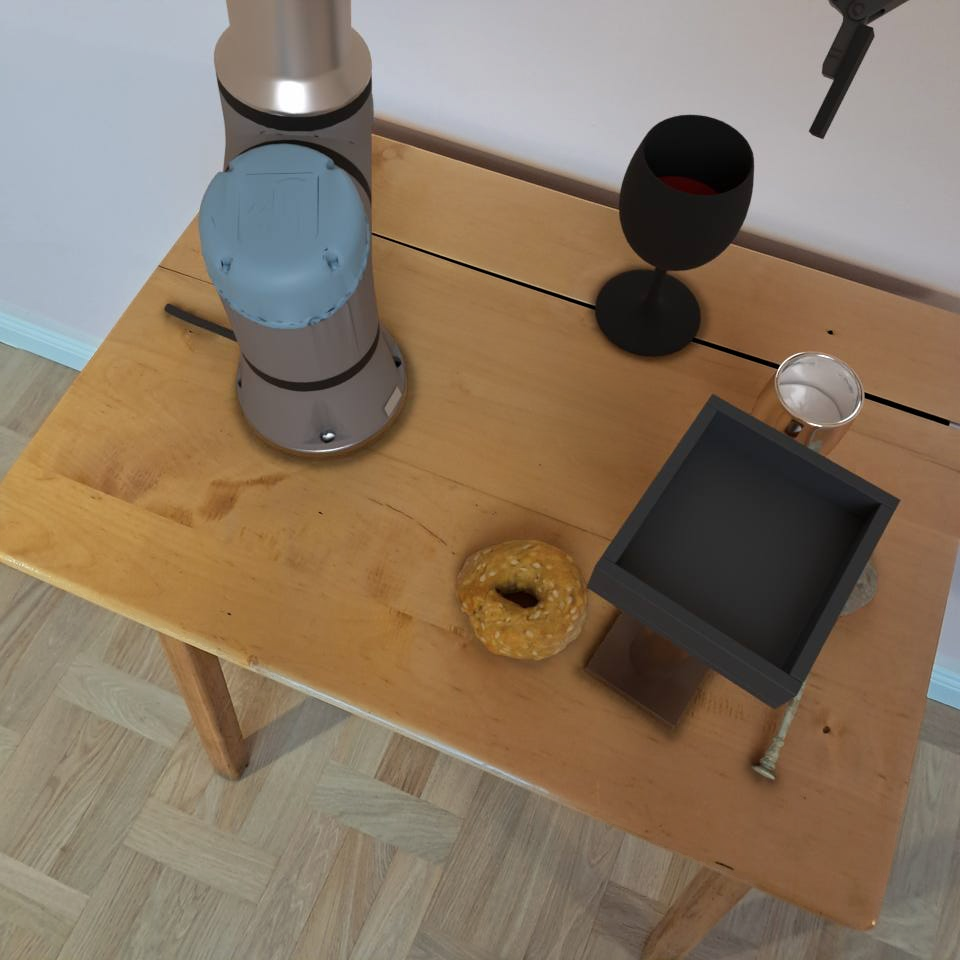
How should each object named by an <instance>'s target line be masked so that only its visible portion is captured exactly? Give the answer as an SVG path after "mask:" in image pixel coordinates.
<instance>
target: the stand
mask: <svg viewBox="0 0 960 960" xmlns="http://www.w3.org/2000/svg"><path fill="white" fill-rule="evenodd" d="M710 669H711V668H710V667H708V666H706V665H705V664H703V663H702V662H700V661H699V660H697V659H696V658H694V657H693V656H691V655H690V654H688V653H686V652H685V651H683V650H682V649H680V648H679V647H677V646H676V645H674V644H673V643H671V642H669V641H668V640H666V639H665V638H663V637H662V636H660V635H659V634H657V633H656V632H654V631H653V630H651V629H649V628H648V627H646V626H645V625H643V624H642V623H640V622H639V621H637V620H636V619H634V618H633V617H631V616H629V615H628V614H626V613H625V612H623V611H622V610H621V612H620V613H619V615H618V617H617V619H616V620H615V621H614V623H613V624H612V626H611V627H610V629H609V631H608V632H607V633H606V635H605V637H604V639H603V640H602V642H601V643H600V644H599V646H598V647H597V649H596V650H595V652H594V654H593V655H592V657H591V658H590V660H589V661H588V662H587V664H586V666H585V668H584V669H583V672H584V673H585V674H587V675H588V676H590V677H591V678H593V679H594V680H596V681H598V682H599V683H600V684H601V685H603V686H605V687H606V688H607V689H609V690H611V691H612V692H614V693H615V694H616V695H618V696H619V697H620V698H622V699H624V700H625V701H627V702H628V703H629V704H631V705H633V706H634V707H636V708H637V709H638V710H640V711H642V712H643V713H645V714H646V715H648V716H649V717H650V718H652V719H653V720H655V721H656V722H658V723H659V724H660V725H662V726H664V727H665V728H667V729H668V730H669V731H672V730H674V729H675V728H676V726H677V724H678V722H679V721H680V719H681V718H682V716H683V714H684V712H685V710H686V709H687V707H688V706H689V704H690V702H691V700H692V699H693V697H694V695H695V694H696V692H697V690H698V688H699V687H700V685H701V683H702V682H703V680H704V678H705V676H706V675H707V673H708V671H709V670H710Z"/></svg>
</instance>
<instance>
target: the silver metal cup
mask: <svg viewBox="0 0 960 960" xmlns="http://www.w3.org/2000/svg"><path fill="white" fill-rule="evenodd" d="M864 403H865V389H864V386H863V383H862V380H861V378H860V377H859V375H858V374H857V372H856V371H855V370H854V369H853V368H852V367H851V366H850V365H849V364H848V363H846V362H845V361H844V360H842V359H840V358H838V357H836V356H835V355H833V354H829V353H826V352H823V351H822V352H821V351H815V350H813V351H802V352H798V353H795V354H793V355H791V356H789V357H787V358H786V359H785V360H783V362H782V363H781V364H780V365H779V367H778V368H777V369H776V371H775V372H774V373H773V375H772V376H771V377H770V379H769V380H768V381H767V383H766V384H765V385H764V387H763V388H762V390H761V392H760V393H759V394H758V396H757V399H756V400H755V402H754V404H753V407H752V409H751V411H750V415H751V416H753V417H755V418H757V419H758V420H760V421H762V422H764V423H765V424H767V425H769V426H771V427H773V428H774V429H776V430H778V431H780V432H781V433H783V434H785V435H787V436H789V437H790V438H792V439H794V440H796V441H797V442H799V443H801V444H803V445H804V446H806V447H808V448H810V449H812V450H813V451H815V452H817V453H819V454H820V455H822V456H824V457H826V458H827V456H829V455H830V454H831V453H832V451H833V450H834V449H835V448H836V447H837V446H838V445H839V444H840V443H841V441H842V440H843V438H844V437H845V436H846V434H847V433H848V431H849V429H850V428H851V426H852V425H853V423H854V421H855V420H856V418H857V417H858V415H859V414H860V413H861V411H862V409H863V407H864Z"/></svg>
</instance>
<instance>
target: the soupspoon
mask: <svg viewBox="0 0 960 960" xmlns="http://www.w3.org/2000/svg"><path fill="white" fill-rule="evenodd" d="M878 579H879V578H878V572H877V569H876V567H875V565H874V562H873V561H872V560H871V558H870V559H869V561H868V563H867V565H866V566H865V568H864V570H863V572H862V574H861V576H860V578H859V580H858V582H857V583H856V585H855V587H854V589H853V591H852V593H851V595H850V597H849V598H848V600H847V602H846V604H845V606H844V608H843V610H842V612H841V614H840V615H839V617H840V616H846V615H849V614H852V613H854V612H856V611H859V610H860V609H861V608H863V607H865V606H866V605H868V604H869V602H870V601H872V598H873V597H874V596H875V595H876V592H877V587H878V582H879V580H878ZM811 670H812V669H811ZM811 670H810V672H809V674H808V676H807V678H806V680H805V681H804V683H803V685H802V687H801V689H800V691H799V693H798V695H797V696H796V697H794V698H793V699H791V700H790V701H788V702H787V705H786V708H785V710H784V713H783V716H782V719H781V721H780V724H779V727H778V730H777V733H776V734H774V735H773V736H771V740H772V743H770V745H768V747H766V749H765V752H764V756H763V757H762V758H760V759H759V764H760V765H752V766H751V769H753V770H754V771H755V772H756V773H759V774H760V775H762V776H764V777H765V778H768V779H771V780H774V781H775V780H776V778H775V776H774V775H773V774H772V772H771V771H773V770H775V769H776V763H777V762H778V759H779V756H780V753H781V751H780V749H781V747H783V746H784V745H785V737H786V736H787V733H788V731H789V728H790V726H791V725H792V722H793V719H794V717H795V714H796V711H797V710H798V708H799V707H798V706H799V704H800V702H801V699H802V696H803V693H804V690H805V687H806V685H807V682H808V679H809V676H810V673H811Z"/></svg>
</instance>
